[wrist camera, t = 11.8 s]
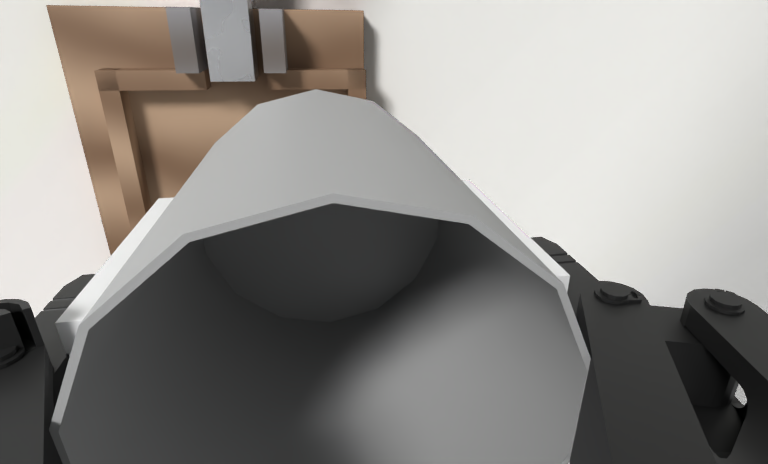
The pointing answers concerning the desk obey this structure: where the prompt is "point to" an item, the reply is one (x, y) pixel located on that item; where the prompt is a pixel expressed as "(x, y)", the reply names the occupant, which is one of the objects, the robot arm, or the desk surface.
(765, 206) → the desk surface
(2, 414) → the robot arm
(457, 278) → the cup
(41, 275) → the desk surface
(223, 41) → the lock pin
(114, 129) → the dock
